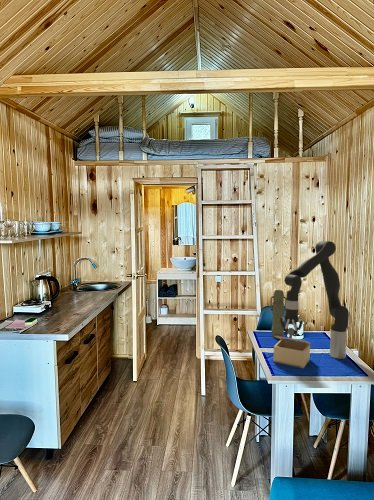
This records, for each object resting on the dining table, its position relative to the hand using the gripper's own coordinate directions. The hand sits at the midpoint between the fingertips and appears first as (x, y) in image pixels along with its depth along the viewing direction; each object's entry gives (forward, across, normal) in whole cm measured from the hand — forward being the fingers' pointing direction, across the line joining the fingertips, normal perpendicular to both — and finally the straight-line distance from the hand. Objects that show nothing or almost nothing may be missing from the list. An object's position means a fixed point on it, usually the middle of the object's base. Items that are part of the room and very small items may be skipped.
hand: (291, 335), depth 221 cm
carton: (+17, 0, -4) cm, 17 cm away
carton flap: (+4, 0, -4) cm, 6 cm away
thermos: (+16, +22, -48) cm, 55 cm away
